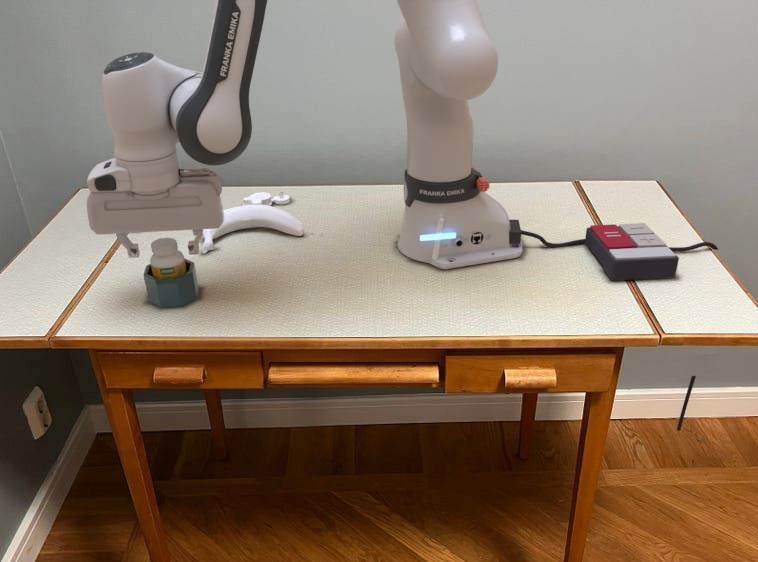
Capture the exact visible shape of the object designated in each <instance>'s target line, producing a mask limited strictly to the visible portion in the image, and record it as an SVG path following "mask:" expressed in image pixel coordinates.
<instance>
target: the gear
mask: <svg viewBox="0 0 758 562" xmlns="http://www.w3.org/2000/svg"><path fill="white" fill-rule="evenodd" d="M242 201H243V203H242V206H244V205H267V206H272V205H273V203H274V204H276V205H287V204H290V201H291V200H290V196H289V195H287V194H284V192H283V191H278V195H275V196H274V197H273V198H272V195H271V194H270V193H269V192H264V191H260V192H259V191H258V192H254V193H252V194H251V195H249V196H245V197H243V198H242ZM233 203H234V204H235V202H233Z"/></svg>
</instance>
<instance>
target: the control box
mask: <svg viewBox="0 0 758 562" xmlns="http://www.w3.org/2000/svg"><path fill="white" fill-rule="evenodd" d="M584 239H585V240H586V243H584V244H585V245H586V247H587V248H588V249H589V250H590V252H591V253H592V254H593V255H594V256H595V258H596V259H597V260H598V262H599V263H600V264H601V266H602V269H603V272H604V273H605V274H606V276H607V277H608V279H609V280H610V281H630V280H631V281H632V280H633V281H634V280H651V279H653V280H654V279H672V278H673V279H674V278H676V274H677V269H678V265H679V260H680V257H679V256H678V255H677V254H676V252H673V251H672V250H671V249H670V248H669V246H668V245H667V244H666V242H664V240H662V239H661V237H660V236H659V235H657V234H656V233H655V231H653V229H651V228H650V227H649V226H648V225H647V224H646V223H644V222H637V223H620V224H618V225H617V224H614V223H613V224H593V225H590V227H587V228H586V231H585V237H584Z"/></svg>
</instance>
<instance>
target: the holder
mask: <svg viewBox="0 0 758 562" xmlns="http://www.w3.org/2000/svg"><path fill="white" fill-rule="evenodd" d="M184 259H185V265H186V270H187V273H185V274H183V275H180V276H178V277H176V278H167V279H156V278H154V277H153V272H152V268H151V263H149V264H147V265H146V266H145V269H144V271H143V280H144V284H145V290H146V293H147V299H148V302H149V303H150V304H152V305H154V306H156V307H159V308H160V309H166V308H167V309H169V308H181V307H184V306H185V305H188V304H190V303H193V301H196V300H198V296H199V291H200V287H199V281H198V275H197V270H196V269H197V268H196V264H195V262H194V261H192V260H189V259H187V258H185V257H184Z"/></svg>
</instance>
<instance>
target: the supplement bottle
mask: <svg viewBox="0 0 758 562" xmlns="http://www.w3.org/2000/svg"><path fill="white" fill-rule="evenodd" d="M150 248H151V252H152V255H151V256H150V259H149V262H150V263H149V264H151V268H152V272H153V277H154V278H156V279H167V278H176V277H178V276H180V275H183V274H185V273H187V270H186V265H185V259H186V258H185V256H184V254H183V252H182V251H181V250H179V246H178V242H177V240H176V239H175V238H173V237H161V238H157V239H155V240H153V241H152V242H151V244H150ZM184 258H185V259H184Z"/></svg>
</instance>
